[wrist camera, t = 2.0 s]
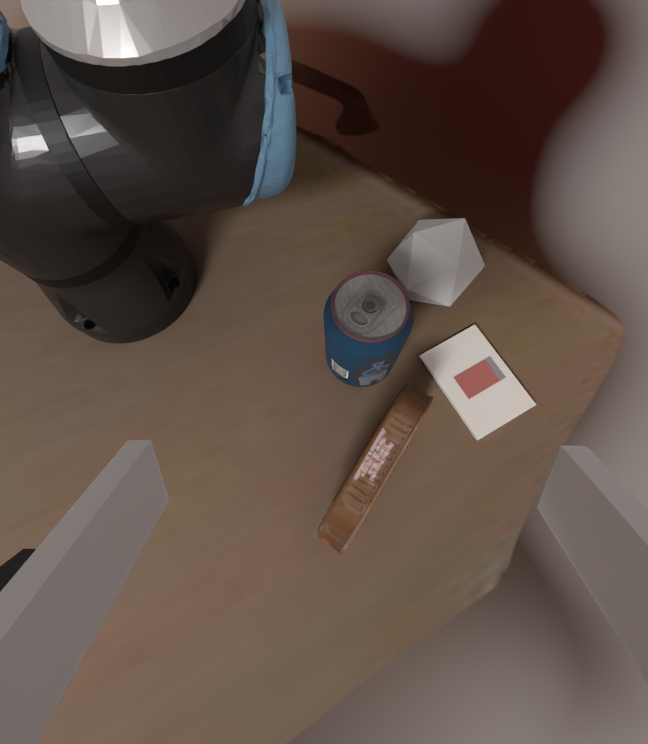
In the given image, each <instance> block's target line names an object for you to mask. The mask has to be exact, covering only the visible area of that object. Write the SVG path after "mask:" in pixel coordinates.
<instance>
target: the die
mask: <svg viewBox="0 0 648 744" xmlns="http://www.w3.org/2000/svg"><path fill="white" fill-rule="evenodd" d="M387 261H388V263H389V265H390V267H391V268H392V270H393V272H394V274H395V276H396V278H397V280H398V282H399V283H400V284H401V285H402V286H403V287H404V289H405V290H406V292H407V295H408V297H409V300H411V301H417V302H424V303H430V304H436V305H442V306H448V307H450V306H451V305H452V304H453V302H454V301H455V300H456V299H457V298H458V297H459V295H460V294H461V293H462V292H463V291H464V290H465V288H466V287H467V286H468V285H469V284H470V283H471V281H472V280H473V279H474V278H475V277H476V276H477V275H478V273H479V272H480V271H481V270H482V269H483V268H484V266H485V264H484V262H483V260H482V257H481V255H480V253H479V250H478V248H477V245H476V243H475V241H474V238H473V236H472V234H471V231H470V229H469V226H468V224H467V222H466V219H465V218H454V219H427V220H418V222H417V223H416V224H415V225H414V227H413V228H412V229H411V230H410V232H409V233H408V234H407V235H406V237H405V238H404V239H403V240H402V242H401V243H400V244H399V245H398V247H397V248H396V249H395V250H394V252H393V253H392V254H391V255H390V257H389V258H388V259H387Z"/></svg>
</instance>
